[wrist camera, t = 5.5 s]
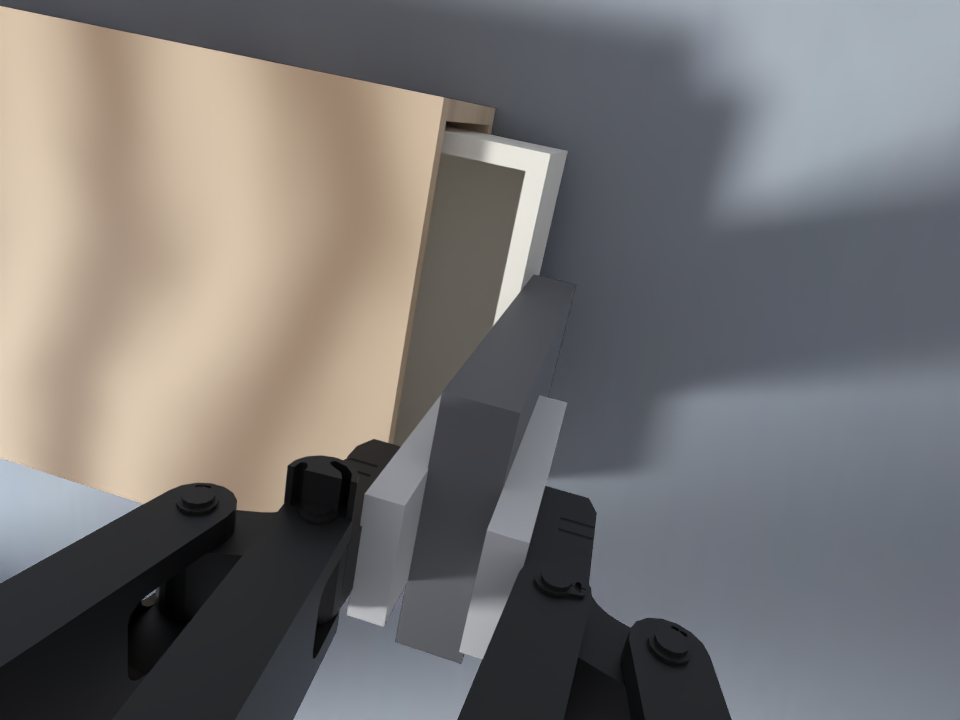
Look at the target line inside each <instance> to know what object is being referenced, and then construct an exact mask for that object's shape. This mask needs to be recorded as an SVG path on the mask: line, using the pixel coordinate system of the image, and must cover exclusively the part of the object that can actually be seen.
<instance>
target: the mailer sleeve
mask: <svg viewBox="0 0 960 720" xmlns="http://www.w3.org/2000/svg"><path fill="white" fill-rule="evenodd" d="M495 110H496V108H492V107H487V106H482V105H478V104H473V103H468V102H463V101H459V100H454V99H449V98H444V97H439V96H435V95H430V94H425V93H420V92H415V91H410V90H406V89H401V88H396V87H391V86H386V85H381V84H376V83H372V82H367V81H362V80H357V79H352V78H347V77H342V76H338V75H333V74H328V73H323V72H318V71H313V70H308V69H304V68H299V67H294V66H289V65H284V64H279V63H275V62H270V61H265V60H260V59H255V58H250V57H245V56H241V55H236V54H231V53H226V52H221V51H216V50H211V49H207V48H202V47H197V46H192V45H187V44H182V43H178V42H173V41H168V40H163V39H158V38H153V37H148V36H144V35H139V34H134V33H129V32H124V31H119V30H114V29H110V28H105V27H100V26H95V25H90V24H85V23H80V22H76V21H71V20H66V19H61V18H56V17H51V16H47V15H42V14H37V13H32V12H27V11H22V10H17V9H13V8H8V7H3V6H0V458H2V459H5V460H8V461H11V462H14V463H17V464H21V465H24V466H27V467H30V468H33V469H36V470H39V471H42V472H45V473H49V474H52V475H55V476H58V477H61V478H64V479H67V480H70V481H73V482H77V483H80V484H83V485H86V486H89V487H92V488H95V489H98V490H101V491H105V492H108V493H111V494H114V495H117V496H120V497H123V498H126V499H129V500H133V501H136V502H139V503H142V504H145V503H147V502H149V501H150V500H152V499H154V498H156V497H158V496H159V495H161V494H163V493H165V492H167V491H168V490H171V489H173V488H176V487H178V486H181V485H185V484H191V483H212V484H216V485H219V486H223V487H225V488H227V489H228V490H230V491H231V492H233V493H234V495H235V497H236V499H237V510H243V511H254V512H278V510H279V509H280V508H281V507H282V505H283V504H284V496H285V486H286V476H287V466H288V465H289V464H290V463H292V462H293V461H295V460H296V459H300V458H303V457H306V456H318V455H323V456H330V457H336V458H339V459H341V460H344V459H347V456H348V455H349V454H350V453H351V452H352V451H353V450H354V449H355V447H356V446H358V445H360V444H363V443H365V442H367V441H370V440H372V439H376V440H380V441H383V442H387V443H390V444H393V441H394V435H395V429H396V423H397V417H398V411H399V405H400V398H401V392H402V386H403V380H404V374H405V368H406V362H407V356H408V350H409V344H410V338H411V332H412V326H413V319H414V313H415V307H416V301H417V295H418V289H419V283H420V277H421V271H422V265H423V259H424V253H425V246H426V240H427V234H428V228H429V222H430V216H431V210H432V204H433V198H434V192H435V186H436V180H437V174H438V167H439V161H440V155H441V149H442V143H443V137H444V131H445V125H448V126H452V127H457V128H462V129H467V130H471V131H476V132H481V133H485V134H490V135H491V131H492V126H493V121H494V115H495Z"/></svg>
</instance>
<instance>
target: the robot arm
mask: <svg viewBox="0 0 960 720" xmlns="http://www.w3.org/2000/svg"><path fill="white" fill-rule="evenodd" d="M441 395H442V394H441ZM441 395H440V397H439V398H438V399H437V401H436V402H435V403H434V404H433V406H432V407H431V408H430V410H429V411H428V412H427V414H426V415H425V416H424V417H423V419H422V420H421V421H420V423H419V424H418V425H417V427H416V428H415V429H414V430H413V432H412V433H411V434H410V436H409V437H408V438H407V440H406V441H405V442H404V443H403V445H402V446H397V445H394V444H390V443H387V442H383V441H380V440H376V439H372V440H370V441H367V442H365V443H363V444H360V445H358V446H356V447H355V449H354V450H353V451H352V452H351V453H350V454H349V455H348V456H347V459H344V460H341V459H339V458H336V457H330V456H323V455H318V456H306V457H303V458H300V459H296V460H295V461H293V462H292V463H290V464H289V465H288V466H287V476H286V486H285V496H284V504H283V505H282V507H281V508H280V509H279V510H278V512H254V511H243V510H237V499H236V497H235V495H234V493H233V492H231V491H230V490H228V489H227V488H225V487H223V486H219V485H216V484H212V483H191V484H185V485H181V486H178V487H176V488H173V489H171V490H168V491H167V492H165V493H163V494H161V495H159V496H158V497H156V498H154V499H152V500H150V501H149V502H147V503H145V504H143V505H141V506H140V507H138V508H136V509H134V510H132V511H131V512H129V513H127V514H125V515H123V516H122V517H120V518H118V519H116V520H114V521H113V522H111V523H109V524H107V525H105V526H104V527H102V528H100V529H98V530H96V531H95V532H93V533H91V534H89V535H87V536H85V537H84V538H82V539H80V540H78V541H76V542H75V543H73V544H71V545H69V546H67V547H66V548H64V549H62V550H60V551H58V552H57V553H55V554H53V555H51V556H49V557H48V558H46V559H44V560H42V561H40V562H39V563H37V564H35V565H33V566H31V567H30V568H28V569H26V570H24V571H22V572H21V573H19V574H17V575H15V576H13V577H12V578H10V579H8V580H6V581H4V582H3V583H1V584H0V720H293V719H294V717H295V715H296V713H297V711H298V709H299V707H300V705H301V703H302V701H303V699H304V696H305V694H306V692H307V690H308V688H309V686H310V684H311V682H312V680H313V678H314V676H315V674H316V672H317V670H318V668H319V666H320V664H321V662H322V660H323V658H324V656H325V654H326V652H327V650H328V648H329V646H330V643H331V641H332V639H333V637H334V635H335V633H336V630H337V625H338V619H339V612H340V608H341V607H342V605H343V604H344V602H345V600H346V599H347V597H348V596H349V594H350V596H349V602H348V609H347V615H349V616H352V617H355V618H358V619H361V620H364V621H367V622H370V623H373V624H376V625H379V626H382V627H384V626H385V624H386V622H387V620H388V618H389V616H390V614H391V612H392V610H393V608H394V606H395V604H396V602H397V601H398V599H399V597H400V595H401V593H402V591H403V589H404V587H405V585H406V583H407V581H408V577H409V571H410V566H411V561H412V555H413V550H414V544H415V539H416V534H417V528H418V523H419V517H420V512H421V506H422V501H423V496H424V490H425V485H426V479H427V474H428V464H429V459H430V453H431V448H432V443H433V437H434V432H435V427H436V421H437V416H438V411H439V405H440V400H441ZM566 406H567V402H563V401H560V400H556V399H552V398H548V397H545V396H541V395H539V398H538V400H537V403H536V405H535V408H534V410H533V413H532V415H531V418H530V421H529V423H528V426H527V428H526V431H525V433H524V436H523V439H522V441H521V444H520V446H519V449H518V451H517V454H516V457H515V459H514V462H513V464H512V467H511V469H510V472H509V475H508V477H507V480H506V482H505V485H504V488H503V490H502V493H501V495H500V498H499V500H498V503H497V506H496V508H495V511H494V513H493V516H492V518H491V521H490V524H489V526H488V529H487V532H486V536H485V541H484V545H483V549H482V554H481V558H480V563H479V567H478V571H477V576H476V580H475V584H474V589H473V593H472V597H471V602H470V606H469V611H468V615H467V619H466V624H465V628H464V632H463V637H462V641H461V645H460V650H459V652H461V653H464V654H467V655H470V656H473V657H476V658H480V659H483V660H482V662H481V664H480V667H479V669H478V672H477V674H476V676H475V679H474V681H473V684H472V686H471V688H470V691H469V693H468V696H467V698H466V700H465V703H464V705H463V707H462V710H461V712H460V715H459V717H458V719H457V720H731V717H730V714H729V711H728V708H727V705H726V702H725V699H724V696H723V693H722V691H721V688H720V685H719V682H718V679H717V676H716V673H715V670H714V667H713V664H712V661H711V659H710V656H709V654H708V652H707V650H706V649H705V647H704V645H703V643H702V642H700V641H699V640H698V639H697V638H696V637H695V636H694V635H693V634H692V633H691V632H690V631H688V630H686V629H685V628H683V627H681V626H680V625H678V624H676V623H673V622H670V621H667V620H664V619H656V618H646V619H643V620H640V621H636V623H635V624H634V625H633V626H632V627H631V628H630V627H628V626H626V625H625V624H623V623H621V622H619V621H618V620H616V619H614V618H613V617H611V616H610V615H608V614H607V613H606V612H605V611H604V610H603V609H602V608H601V607H599V606H598V604H597V603H596V601H595V600H594V599H593V597H592V595H591V587H590V586H589V576H590V567H591V558H592V550H593V539H594V532H595V530H594V529H595V523H596V514H597V513H596V511H595V509H594V507H593V505H592V504H591V502H590V500H589V498H586V497H582V496H579V495H575V494H572V493H568V492H565V491H561V490H558V489H554V488H551V487H547V486H546V483H547V480H548V476H549V472H550V468H551V464H552V460H553V456H554V453H555V449H556V445H557V441H558V437H559V433H560V429H561V425H562V422H563V418H564V414H565V410H566ZM155 589H156V592H155V593H154V594H153V595H151V596H150V597H148V598H147V599H145V600H142V599H144V598H145V597H146V596H147V595H148V594H149V593H151V592H152V591H154V590H155ZM141 600H142V601H141Z"/></svg>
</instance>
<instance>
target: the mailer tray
mask: <svg viewBox="0 0 960 720" xmlns="http://www.w3.org/2000/svg"><path fill="white" fill-rule="evenodd" d="M567 152H568V151H565V150H561V149H556V148H551V147H547V146H542V145H537V144H532V143H528V142H523V141H518V140H514V139H509V138H504V137H500V136H495V135H490V134H485V133H481V132H476V131H471V130H467V129H462V128H457V127H452V126H448V125H445V131H444V137H443V143H442V149H441V155H440V161H439V167H438V174H437V180H436V186H435V192H434V198H433V204H432V210H431V216H430V222H429V228H428V234H427V240H426V246H425V253H424V259H423V265H422V271H421V277H420V283H419V289H418V295H417V301H416V307H415V313H414V319H413V326H412V332H411V338H410V344H409V350H408V356H407V362H406V368H405V374H404V380H403V386H402V392H401V398H400V405H399V411H398V417H397V423H396V429H395V435H394V441H393V444H394V445H397V446H402V445H403V443H404V442H405V441H406V440H407V438H408V437H409V436H410V434H411V433H412V432H413V430H414V429H415V428H416V427H417V425H418V424H419V423H420V421H421V420H422V419H423V417H424V416H425V415H426V414H427V412H428V411H429V410H430V408H431V407H432V406H433V404H434V403H435V402H436V401H437V399H438V398H439V397H440V395H441V394H442V395H441V400H440V405H439V411H438V416H437V421H436V427H435V432H434V437H433V443H432V448H431V453H430V459H429V464H428V474H427V479H426V485H425V490H424V496H423V501H422V506H421V512H420V517H419V523H418V528H417V534H416V539H415V544H414V550H413V555H412V561H411V566H410V571H409V577H408V581H407V583H406V586H405V592H404V597H403V602H402V608H401V613H400V618H399V623H398V629H397V634H396V639H395V642H397V643H400V644H403V645H406V646H409V647H412V648H415V649H418V650H421V651H424V652H427V653H430V654H433V655H436V656H439V657H442V658H445V659H448V660H451V661H454V662H457V663H460V664H461V663H462V660H463V657H464V653H461V652H459V650H460V645H461V641H462V637H463V632H464V628H465V624H466V619H467V615H468V611H469V606H470V602H471V597H472V593H473V589H474V584H475V580H476V576H477V571H478V567H479V563H480V558H481V554H482V549H483V545H484V541H485V536H486V532H487V529H488V526H489V524H490V521H491V518H492V516H493V513H494V511H495V508H496V506H497V503H498V500H499V498H500V495H501V493H502V490H503V488H504V485H505V482H506V480H507V477H508V475H509V472H510V469H511V467H512V464H513V462H514V459H515V457H516V454H517V451H518V449H519V446H520V444H521V441H522V439H523V436H524V433H525V431H526V428H527V426H528V423H529V421H530V418H531V415H532V413H533V410H534V408H535V405H536V403H537V400H538V398H539V395H541V396H545V397H548V395H549V391H550V387H551V383H552V380H553V376H554V372H555V368H556V364H557V360H558V356H559V352H560V348H561V344H562V340H563V336H564V332H565V328H566V324H567V320H568V316H569V312H570V308H571V304H572V300H573V296H574V292H575V288H576V285H575V284H571V283H567V282H563V281H559V280H555V279H551V278H546V277H542V276H539V274H540V270H541V266H542V261H543V257H544V253H545V248H546V244H547V239H548V235H549V231H550V226H551V222H552V218H553V213H554V209H555V205H556V200H557V196H558V191H559V187H560V183H561V178H562V174H563V170H564V165H565V161H566V157H567Z"/></svg>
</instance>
